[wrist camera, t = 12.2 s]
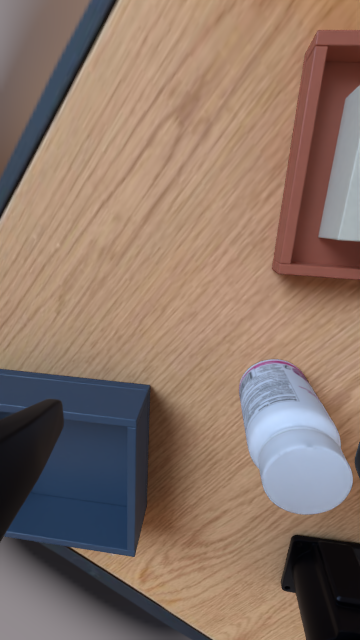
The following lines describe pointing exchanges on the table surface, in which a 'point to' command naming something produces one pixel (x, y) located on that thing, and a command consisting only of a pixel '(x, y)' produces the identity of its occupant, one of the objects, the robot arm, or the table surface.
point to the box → (86, 462)
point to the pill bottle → (292, 439)
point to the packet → (345, 178)
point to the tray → (317, 160)
